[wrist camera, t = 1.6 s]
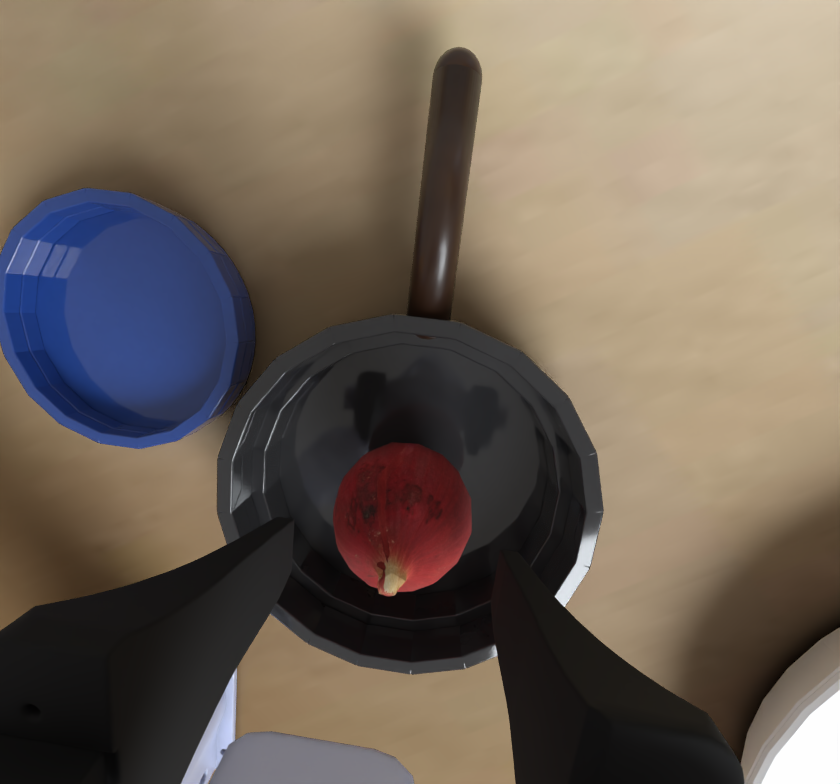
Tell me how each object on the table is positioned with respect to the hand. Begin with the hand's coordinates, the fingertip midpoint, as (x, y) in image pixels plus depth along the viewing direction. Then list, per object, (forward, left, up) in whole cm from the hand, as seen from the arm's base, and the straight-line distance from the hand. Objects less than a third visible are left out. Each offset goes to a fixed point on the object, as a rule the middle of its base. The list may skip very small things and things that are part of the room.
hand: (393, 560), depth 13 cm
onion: (0, 0, -7) cm, 7 cm away
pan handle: (+13, 0, -5) cm, 14 cm away
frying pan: (0, 0, -7) cm, 7 cm away
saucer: (+6, +15, -7) cm, 17 cm away
